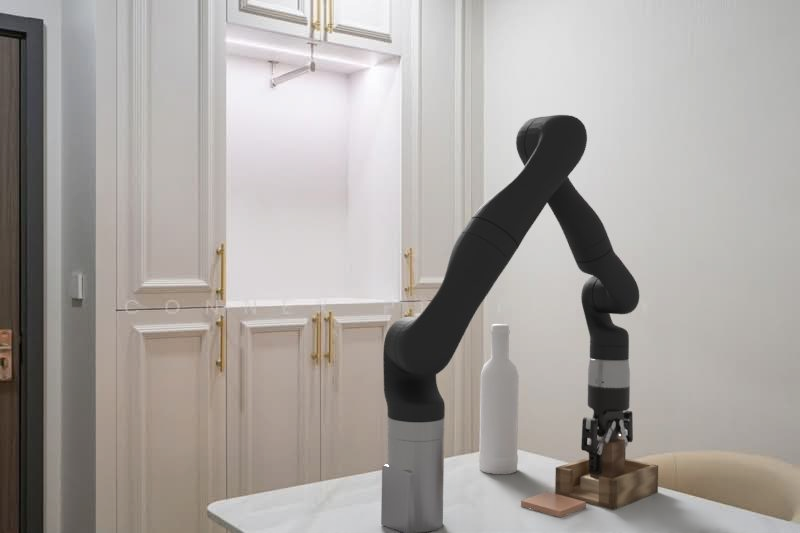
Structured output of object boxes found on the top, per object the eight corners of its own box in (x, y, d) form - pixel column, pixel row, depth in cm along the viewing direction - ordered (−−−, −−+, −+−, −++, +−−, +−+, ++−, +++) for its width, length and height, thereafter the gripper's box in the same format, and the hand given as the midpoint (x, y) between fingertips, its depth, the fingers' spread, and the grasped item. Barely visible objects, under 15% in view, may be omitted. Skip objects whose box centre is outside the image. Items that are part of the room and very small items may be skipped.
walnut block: (611, 481, 139) (612, 443, 139) (590, 476, 142) (590, 439, 142) (624, 477, 142) (624, 439, 142) (602, 472, 145) (603, 435, 145)
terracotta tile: (559, 517, 127) (560, 511, 127) (520, 506, 133) (521, 500, 133) (585, 507, 133) (585, 501, 133) (547, 497, 139) (547, 491, 139)
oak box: (613, 509, 132) (614, 481, 132) (555, 494, 141) (555, 467, 141) (657, 492, 143) (658, 465, 143) (601, 478, 152) (601, 453, 152)
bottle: (476, 473, 154) (479, 325, 155) (480, 463, 162) (482, 322, 162) (516, 476, 153) (519, 326, 153) (518, 466, 161) (520, 323, 161)
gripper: (606, 389, 134) (605, 481, 134) (646, 381, 144) (644, 467, 144) (570, 384, 140) (568, 472, 140) (610, 377, 150) (609, 460, 150)
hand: (607, 470), depth 142 cm, fingers open, 8 cm apart
